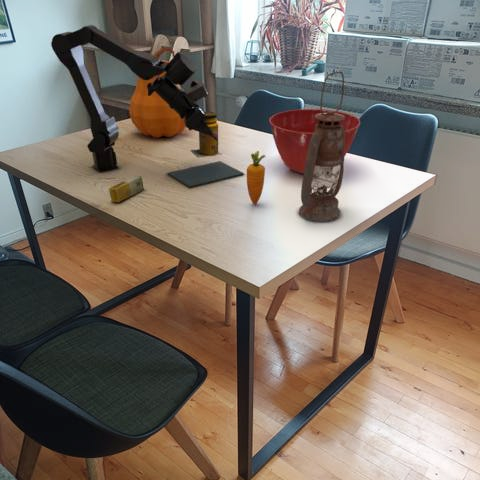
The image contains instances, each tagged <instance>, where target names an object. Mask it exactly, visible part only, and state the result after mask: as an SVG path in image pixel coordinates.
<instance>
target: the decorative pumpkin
mask: <svg viewBox="0 0 480 480" xmlns="http://www.w3.org/2000/svg"><path fill="white" fill-rule="evenodd" d="M167 51H170V52H171V54H172V57H174V56H175V51H174V50H173V49H172V48H171V47H167V46H166V47H165V46H163V47H162V48H161V49H159V50H157V51H156V52H155V53H154V56H156V57H157V58H158V59H159V60H160V61H163V62H167V63H169V62H170V61H169V60H165V59H162V60H161V56H162V55H164V53H165V52H167ZM165 74H166V72H164V73H162V74H160V75H157V76H156V77H154V78H152V79H150V80H143V79H141V78H140V77H138V76H137V81H136V85H135V91H134V92H133V94H132V96H131V98H130V102H129V110H128V113H129V117H130V120H131V123H132V124H133V126H134V127H135V128H136V129H137V130H138V131H139V132H140V133H142V134H143V135H145V136H147V137H151V136H152V137H153V138H157V139H158V138H162V137H163V136H164V137H166V138H170V137H174V136H175V135H180V134H181V133H183V132H184V131H185V129H186V128H187V127H186V126H185V124H184V118H185V117H184V118H183V119H182V118H181V117H180V116H179V114H177V113H176V112H175V111H174V110H173V109H171V108H170V107H169V105H168V104H167V103H166V102H165V101H164V100H163V99H162V98H161V97H160V96H159V95H158V94H157V93H156V92H153V93H152V94H151V95H150V96H148V89H147V84H148V83H152V82H154V81H155V79H156V78H157V77H159V76H160V77H162V76H163V75H165ZM177 86H178V87H179V88H181V89H182V87H181V85H179V84H178V85H177Z"/></svg>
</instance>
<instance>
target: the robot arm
mask: <svg viewBox="0 0 480 480" xmlns="http://www.w3.org/2000/svg"><path fill="white" fill-rule="evenodd" d="M87 44H90V45H92V46H93V47H95V48H97V49H99V50H101V51H102V52H104V53H105V54H108V55H110V56H112V57H113V58H115V59H116V60H118V61H120V62H122V63H123V64H125V65H126V66H127V68H129V69H130V71H131V72H132V73H133V74H134V75H136V76H137V78H138V77H140V78H141V79H143V80H150V79H152V78H154V77H156V76H157V75H160V74H162V73H164V72H166V74H165V75H163V76H162V77H160V76H159V77H157V78H156V79H155V81H154V82H152V83H148V84H147V89H148V96H150V95H151V94H152V93H153V92H156V93H157V94H158V95H159V96H160V97H161V98H162V99H163V100H164V101H165V102H166V103H167V104H168V105H169V107H170V108H171V109H173V110H174V111H175V112H176V113H177V114H179V116H180V117H181V118H182V119H183V118H184V117H185V118H184V124H185V126H186V128H187V129H188V130H189V131H191V132H192V131H195V132H198V133H199V132H201V133H204V134H207V135H209V136H211V135H212V134H213V132H212V131H211V130H210V128H209V127H208V125H207V124H206V122H205V121H204V115H205V114H204V113H203V112H204V111H203V110H202V109H201V108H200V106H199V104H198V103H197V101H199V100H202V99H204V98H206V97H208V96H209V93H208V91H207V89H206V86H205V84H204V83H203V82H202V81H199V82H197V81H196V80H195V79H194V80H191V81H190V82H189V87H188V88H187V89H186V90H184V89H183V88H182V87H181V88H179V87H178V86H177V85H178V84H179V85H180V86H183V85H184V84H185V83H186V82H187V81H188V80H189V79H190V78H191V77H192V76H193V75H194V74H195V73H196V72H197V68H196V66H195V64H194V63H193V61H192V60H191V59H189V58H188V57H187V56H186V55H185V54H183V52H182V51H178V52H176V53H174V57H173V56H172V57H173V58H172V59H171V60H170V61H169V63H167V62H163V61H162V60H161V59H160V60H159V59H158V58H157V57H156V56H155V54H152V53H148V52H145V51H142V50H139V49H134V48H132V47H131V46H129V45H127V44H125V43H123V42H121V41H119V40H118V39H116V38H115V37H113V36H111V35H109V34H108V33H106V32H104V31H103V30H101V29H99V28H98V27H97V26H95V25H93V24H88V25H85V26H82V27H81V28H79V29H77V30H74V31H66V32H61V33H57V34H55V35H53V37H52V39H51V42H50V45H51V48H52V51H53V52H54V54H55V56H56V57H57V59H58V60H59V62H60V63H61V64H62V65H63V66H64V67H65V68H66V69H67V71H68V72H69V74H70V77H71V79H72V81H73V83H74V86H75V88H76V90H77V92H78V95H79V97H80V99H81V102H82V104H83V105H84V108H85V110H86V112H87V115H88V117H89V119H90V123H89V124H90V133H91V135H92V139H91V140H90V141H89V142H88V144H87V149H88V151H89V152H90V153H91V155H92V160H93V164H92V168H94V169H96V170H97V172H99V173H101V172H107V171H111V170H116V169H119V166H118V160H117V153H116V151H115V150H114V146H115V144H116V141H117V140H118V138H119V136H120V132H119V130H120V128H119V126H118V125H117V123H116V118H115V117H114V116H109V115H108V114H107V113H106V112H105V111H104V108H103V106H102V103H101V101H100V99H99V96H98V94H97V92H96V89H95V87H94V85H93V83H92V80H91V78H90V75H89V73H88V71H87V68H86V66H85V63H84V50H83V46H86V45H87Z"/></svg>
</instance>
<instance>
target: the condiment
mask: <svg viewBox="0 0 480 480" xmlns="http://www.w3.org/2000/svg"><path fill="white" fill-rule="evenodd" d="M203 113H204V114H205V115H204V121H205V122H206V124H207V125H208V127H209V128H210V130H211V131H212V132H213V134H212V135H211V136H209V135H207V134H204V133H201V132H198V142H199V143H198V145H199V149H190V150H189V151H190V152H191V153H192V154H193V155H194V156H195V157H196V158H198V159H199V158H207V157H217V156H222V155H223V153H221V152H220V151H219V122H218V114H217V113H216V112H213V111H203Z"/></svg>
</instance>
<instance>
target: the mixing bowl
mask: <svg viewBox="0 0 480 480" xmlns="http://www.w3.org/2000/svg"><path fill="white" fill-rule="evenodd" d="M327 111H333V110H331V109H322V113H327ZM320 113H321V110H320V109H319V108H303V109H291V110H285V111H281V112H278V113H275V114H273V115H272V116H271V117H269V119H268V120H269V124H270V129H271V132H272V133H271V134H272V137H273V141H274V144H275V147H276V149H277V152H278V154H279V157H280V159H281V160H282V162H283V163H284V165H285V166H286V167H287V168H288V169H290V170H291V171H293V172H294V173H296V174H297V173H298V174H301V175H304V169H305V164H306V158H307V153H308V148H309V143H310V140H311V137H312V135H313V134H314V132H315V126H316V125H317V122H318V120H317V119H316V118H315V115H316V114H320ZM335 113H336V114H341V115H343V116H345V120H343V121H341V125H342V126H343V128H344V131H345V150H344V158H345V157H346V155H347V153H348V152H349V150H350V149H351V146H352V144H353V142H354V139H355V137H356V135H357V131H358V129H359V126H361V120H360V119H359V118H358V117H357V116H356V115H354V114H351V113H346V112H344V111H339V110H338V111H337V112H335ZM334 167H335V166H334ZM320 168H322V167H320ZM329 168H331V171H333V170H332V169H333V167H329ZM327 173H328V172H326V174H327ZM322 175H323V173H322ZM313 176H316V173H315V175H314V174H313Z"/></svg>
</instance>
